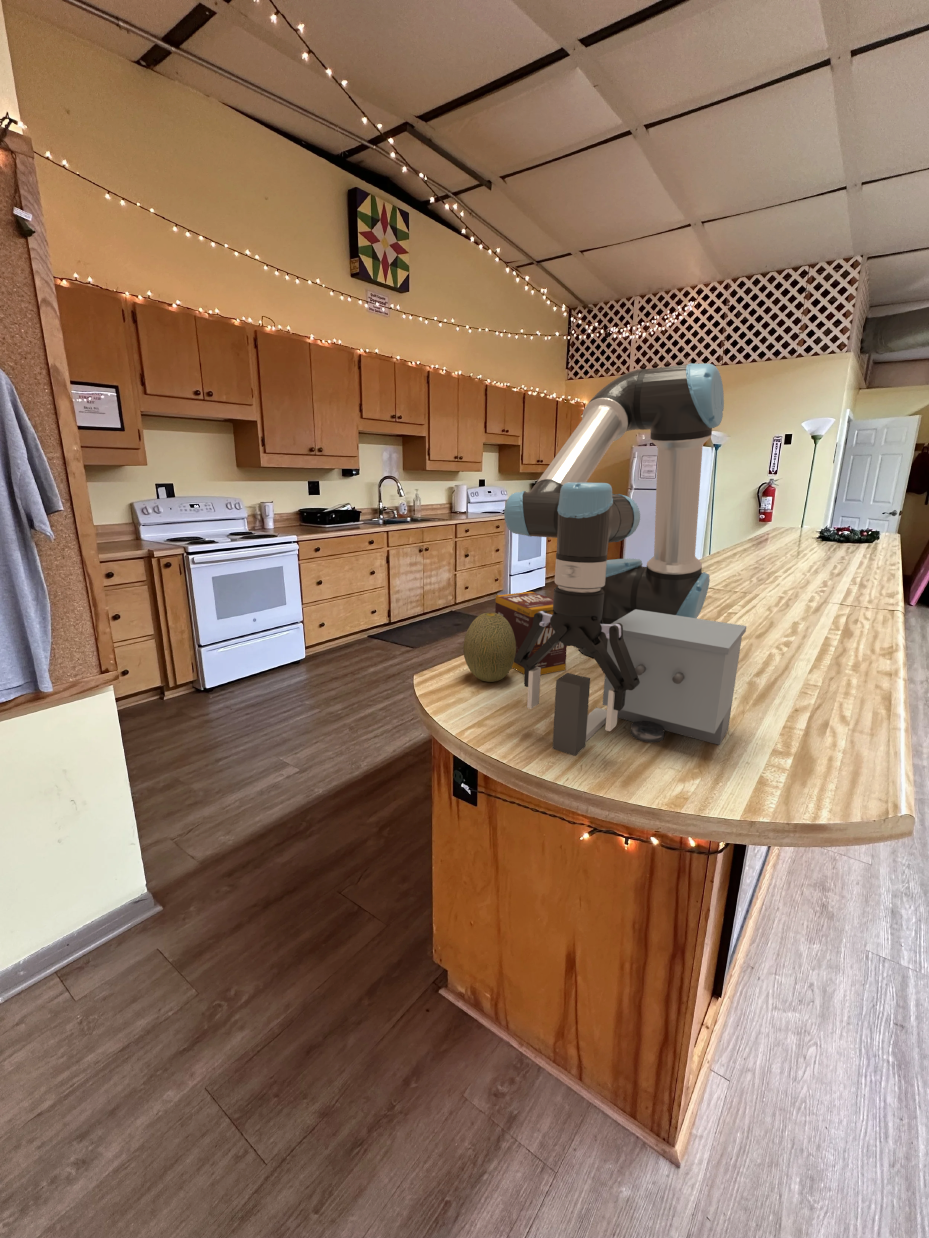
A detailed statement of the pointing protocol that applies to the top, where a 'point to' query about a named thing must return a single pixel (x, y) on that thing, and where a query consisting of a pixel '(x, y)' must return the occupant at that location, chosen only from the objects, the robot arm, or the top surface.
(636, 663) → the cabinet
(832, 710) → the top surface
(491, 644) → the fruit
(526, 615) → the supplement box
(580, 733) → the scraper
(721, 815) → the top surface
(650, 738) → the steel puck
